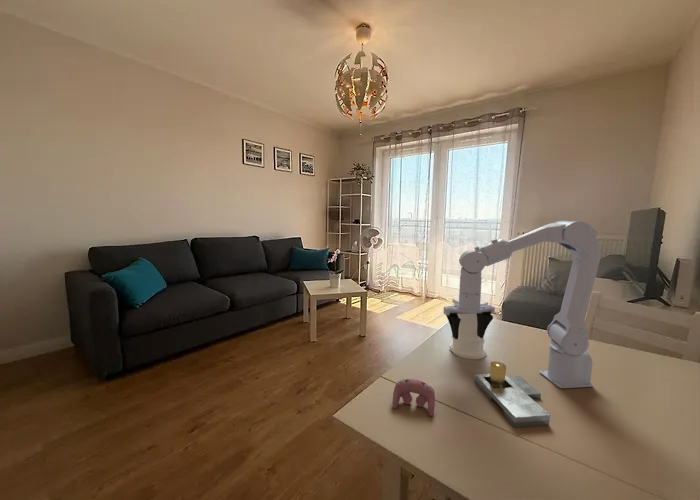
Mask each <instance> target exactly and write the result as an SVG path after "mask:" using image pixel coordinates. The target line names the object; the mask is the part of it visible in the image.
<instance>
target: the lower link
mask: <svg viewBox="0 0 700 500" xmlns="http://www.w3.org/2000/svg"><path fill="white" fill-rule="evenodd" d="M507 377H508V378H509V379H510V380H511V381H513V382H514V383H515V384H516V385H517V386H518V387H519V388H520V389H521V390H523V391H524V392H525V393H526V394H527V395H528V396H529V397H530V398H532V399H533V400H534V399H541V398H542V394H541V392H539V391H538V389H536V388H534V386H532V385H531V384H530V383H529V382H528V381H526V380H525V379H524V378H523V377H522V376H521V375H516V376H515V375H514V376H513V375H512V376H507ZM487 382H488V383H489V381H487ZM474 383H475V385H476V386H477V387H478V388H479V389H480V390H481V391H482V392H483V394H484V395H485V396H486V397H487V399H489V400H490V401H491V402H496V401H495V400H494V399H493V398H492V397H491V396H490V394H489V393H488V392H487V391H486V390H485V389H484V388H483V387H482V386H481V385H480V383H479V382H478V381H477V380H476V379H475V378H474ZM504 388H509V387H508V386H507V385H506V384H505V387H504Z"/></svg>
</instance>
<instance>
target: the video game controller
mask: <svg viewBox="0 0 700 500" xmlns="http://www.w3.org/2000/svg"><path fill="white" fill-rule="evenodd" d="M411 393H412V394H417V395H418V396H416V399H415V404H416V405H417V406H418V407H422V408H423V407H424V406H425V404H427V412H428V415H429V416H430V417H433V416H434V413H435V408H436V407H435V406H436V398H435V397H436V394H435V388H433V387H432V386H431V385H430V384H428V383H426V382H423V381H422V380H418V379H413V378H407V379H403V378H402V379H401V380H399V381H397V382H396V384H395V385H394V389H393V394H392V408H393V409H397V407H398V406H399V403H400V400H401V398H402V401H403V403H404V404H406V405H409V404H411V403H412V401H413V396H412V394H411Z"/></svg>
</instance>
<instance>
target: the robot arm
mask: <svg viewBox="0 0 700 500" xmlns="http://www.w3.org/2000/svg"><path fill="white" fill-rule="evenodd" d="M597 236H598V231H597V230H596V229H594V227H592V226H591V225H590V224H589V223H588V222H585V221H580V220H579V221H577V220H576V221H570V220H563V219H562V220H558V221H555V222H551V223H548V224H545V225H542V226H540V227H538V228H536V229H533V230H531V231H528V232H526V233H523V234H521V235H519V236H516V237H514V238H512V239H510V240H505V239H502V238H500V239H497V238H494V239H491V240H490V242H489V243H487V244H484V245H481V246H477V245H476V246H475V247H474V250H472V249H469V250H465V251H464V252H463V253H462V254H461V255H460V257H459V259H458V261H459V264H460V266H461V267H460V268H461V269H460V276H459V294H458V295H459V305H455V304H454V305H449V306H443V314H445V316H446V318H447V321H448V323H449V326H450V329H451V334H452V335H451V337H452V336H453V337H454V338H455V339H458V330H459V324H460V321H461V319H460V318H459V317H458V315H457V314H475V313H476V314H477V336H479V337H480V338H483V336H484V337H485V335H484V333H485V334H486V330H487V328H488V326H489V324H490V323H491V322H492V321H493V319H494V314H495V312H496V311H495V309H496V307H495V306H493V305H491V304H490V305H489V304H488V305H480V299H481V297H482V296H481V294H482V278H483V277H482V271H483V270H484V268H485V267H488V266H489V267H490V266H492V265H494V264H497V263H500V262H502V261H505V260H506V261H507V259H511V256H512V255H513V253H514V252H518V251H520V250H523V249H526V248H529V247H532V246H535V245H538V244H541V243H544V242H545V243H546V242H547V243H557V244H558V245H561V246H562V247H564V248H565V250H567V251H568V252H569V254H571V256H572V257H573V260H572V264H571V267H570V271H569V275H568V280H567V283H566V287H565V290H564V291H565V292H564V295H563V299H562V303H561V307H560V310H559V312H558V313H556V314H555V315H554V316H553V319H552V321H551V323H550V324H548V325H547V328H546V331H547V333H546V334H547V336H548V337H549V338H550V343H549V349H548V350H549V351H548V362H547V370H539V374H540V375H542V376H544V377H545V378H547V380H548V381H550V382H551V383H553V384H555V386H557V387H558V388H560V389H573V388H575V389H576V388H590V387H593V386H594V384H593V383H591V381H592V380H591V379H592V370H593V359H592V356H591V355H590V353H589V352H588V351H587V350H588V349H589V347H590V342H589V339H588V333H589V328H588V326H587V323H586V321H585V317H586V314H587V311H588V308H589V307H588V306H589V303H590V300H591V295H592V291H593V288H594V284H595V281H596V278H597V273H598V269H599V265H600V262H601V258H602V251H601V247H600V245H599V242H598V239H597ZM492 314H493V315H492Z"/></svg>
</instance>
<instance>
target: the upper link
mask: <svg viewBox="0 0 700 500" xmlns="http://www.w3.org/2000/svg"><path fill="white" fill-rule="evenodd" d="M508 377H509V376H507V375H506V374H505V384H506V385H507V386H508V387H509V388H493V387H492V386H491V385H490V384H489V383H488V382H487V381H489V379H490V373H478V374H477V373H476V374H474V380H475V379H476V380H477V381H478V382H479V383H480V385H481V386H482V387H483V388H484V389H485V390H486V391H487V392H488V393H489V394H490V396H491V397H492V398H493V399H494V400H495V401H494V402H496V403H497V405H498V406H499V407H500V408H501V409H502V410H503V417H505V418H506V420H507V421H509V423H510V424H511V425H512V426H513V427H514V428H527V427H528V428H529V427H530V428H531V427H539V426H542V427H543V426H544V427H545V426H550V421H551V420H550V418H551V414H549V412H547V411H546V410H545V409H544V407H541V406H540V405H539V404H538V403H537V401H535V400H534V399H532V398H530V397H529V396H528V395H527V394H526V393H525V392H524V391H523V390H521V389H520V388H519V387H518V386H517V385H516V384H515V383H514V382H513V381H511V380H510V379H509V378H508Z"/></svg>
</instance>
